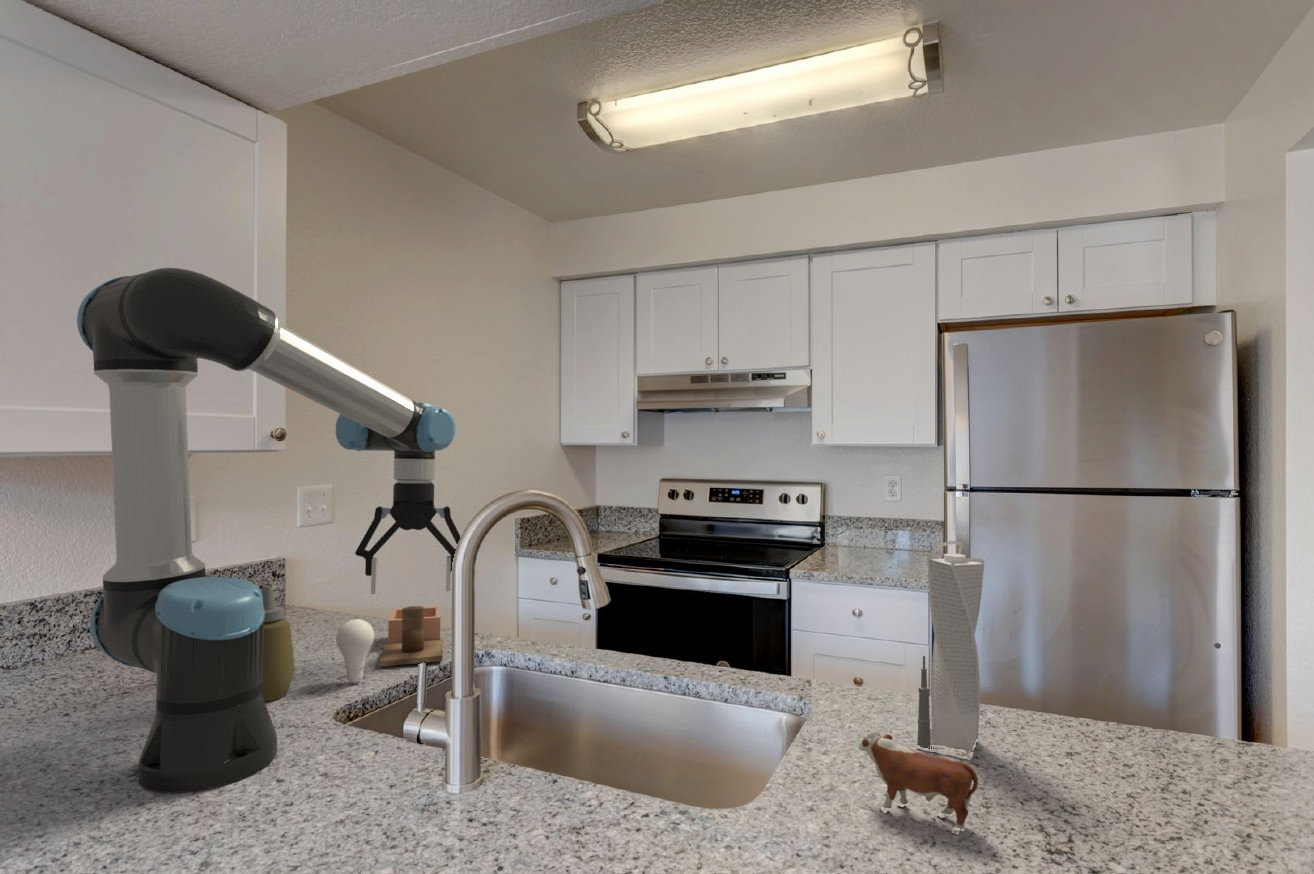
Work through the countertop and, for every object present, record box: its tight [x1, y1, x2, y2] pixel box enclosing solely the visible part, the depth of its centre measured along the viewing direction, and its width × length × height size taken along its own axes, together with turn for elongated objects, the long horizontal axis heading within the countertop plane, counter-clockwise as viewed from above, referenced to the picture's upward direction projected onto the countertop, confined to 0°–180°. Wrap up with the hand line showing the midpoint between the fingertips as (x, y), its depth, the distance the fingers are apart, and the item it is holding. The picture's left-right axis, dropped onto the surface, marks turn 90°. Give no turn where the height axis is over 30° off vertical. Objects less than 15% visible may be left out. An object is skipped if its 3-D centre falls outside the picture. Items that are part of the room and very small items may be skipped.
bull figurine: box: [858, 729, 979, 830], centre depth 79 cm, size 4×13×8 cm, turn 51°
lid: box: [379, 605, 444, 667], centre depth 135 cm, size 11×11×9 cm
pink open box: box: [387, 606, 442, 644], centre depth 146 cm, size 10×10×6 cm
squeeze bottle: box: [261, 586, 296, 702], centre depth 114 cm, size 8×8×18 cm
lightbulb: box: [335, 618, 375, 684], centre depth 121 cm, size 6×6×11 cm
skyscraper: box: [916, 540, 985, 752], centre depth 97 cm, size 8×8×28 cm
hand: (411, 591), depth 135 cm, fingers open, 13 cm apart
